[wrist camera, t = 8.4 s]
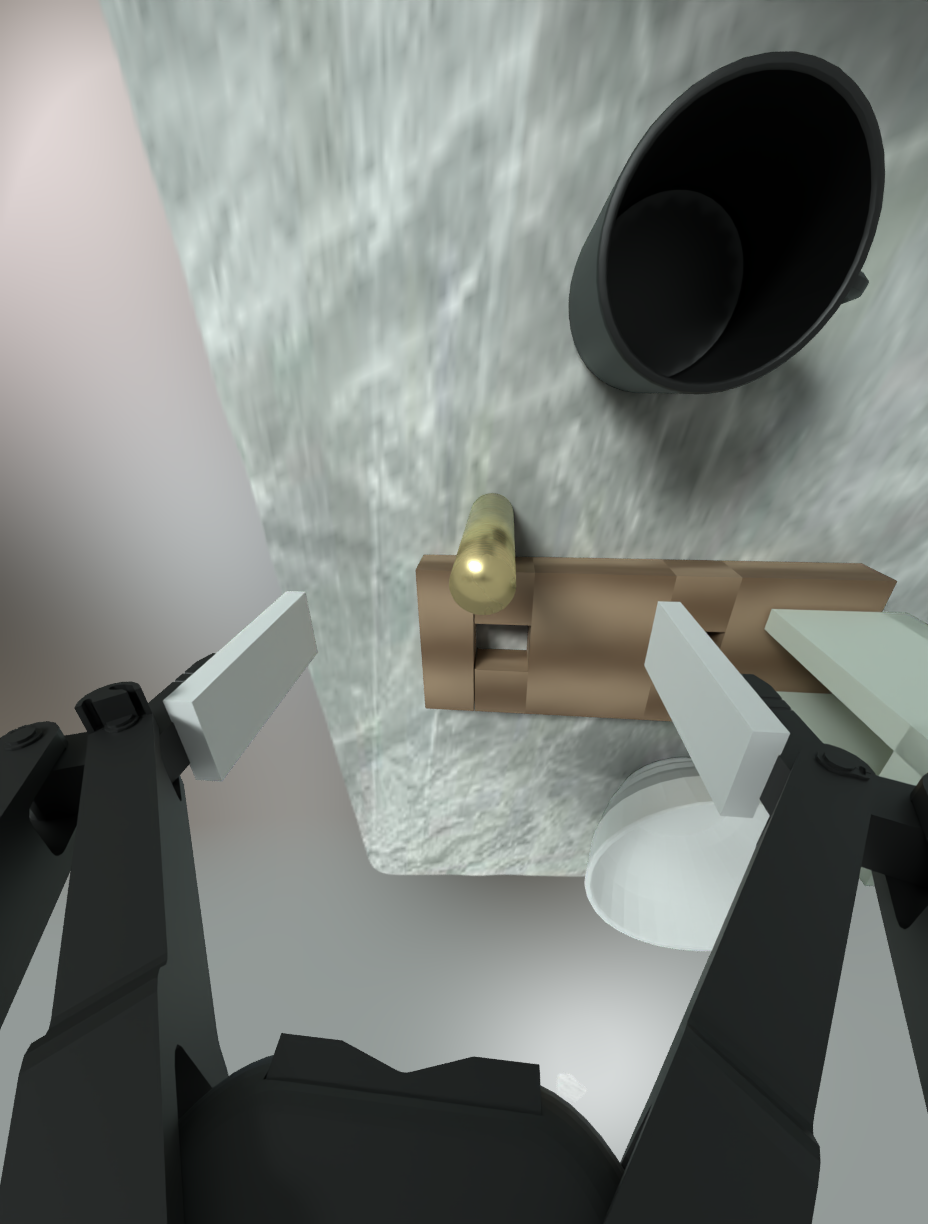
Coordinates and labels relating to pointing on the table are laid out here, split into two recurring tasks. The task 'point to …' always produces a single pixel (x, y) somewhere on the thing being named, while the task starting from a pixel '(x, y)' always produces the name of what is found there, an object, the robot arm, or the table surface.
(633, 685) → the wooden slotted block
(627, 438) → the table surface
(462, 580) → the pin
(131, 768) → the robot arm
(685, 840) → the bowl
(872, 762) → the housing
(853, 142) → the mug
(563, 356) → the table surface
